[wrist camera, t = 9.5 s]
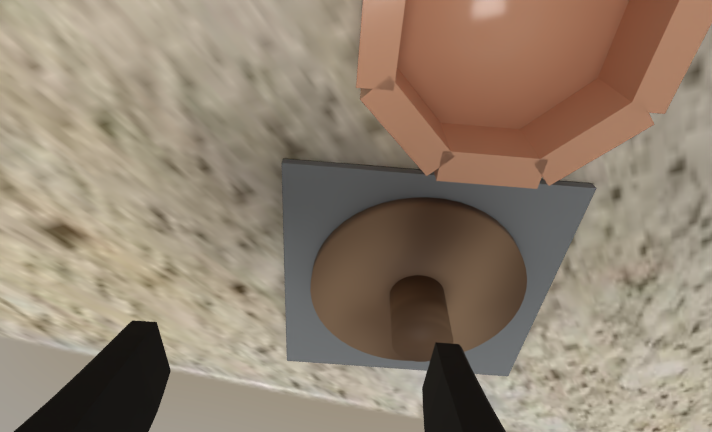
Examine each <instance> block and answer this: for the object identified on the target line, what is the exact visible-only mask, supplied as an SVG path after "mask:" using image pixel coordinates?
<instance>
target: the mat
mask: <svg viewBox="0 0 712 432" xmlns="http://www.w3.org/2000/svg"><path fill="white" fill-rule="evenodd" d="M595 190H596V187H595V186H594V185H593V184H590V183H577V182H565V181H557V182H555V183H553V184H552V185H550V186H549V185H548V184H547V183H546V181H545V180H540V183H539V186H538V188H537V189H532V188H520V187H507V186H495V185H482V184H470V183H458V182H445V181H436V178H435V174H434V172H432V173H431V174H429V175H428V176H426V175H425V174H424V173H423V171H422V170H417V169H404V168H392V167H380V166H367V165H355V164H343V163H330V162H318V161H306V160H293V159H283V161H282V194H283V231H284V269H285V306H286V343H287V361H299V362H313V363H328V364H342V365H356V366H370V367H384V368H398V369H413V370H428V367H429V363H430V361H427V362H416V361H402V360H392V359H386V358H381V357H377V356H373V355H370V354H367V353H364V352H362V351H359V350H357V349H355V348H353V347H351V346H349V345H347V344H346V343H344V342H342V341H341V340H340V339H338V338H337V337H336V336H334V335H333V334H332V333H331V332H330V331H329V330H328V329H327V328H326V327H325V326H324V324H323V323H322V322H321V320H320V319H319V317H318V315H317V313H316V311H315V309H314V306H313V303H312V299H311V292H310V288H311V277H312V271H313V266H314V262H315V259H316V256H317V254H318V251H319V249H320V248H321V246H322V245H323V243H324V241H325V240H326V239H327V238H328V237H329V235H330V234H331V233H332V232H333V231H334V230H335V229H336V228H337V227H338V226H340V225H341V224H342V223H343V222H345V221H346V220H348V219H349V218H351V217H352V216H354V215H355V214H357V213H359V212H361V211H363V210H365V209H367V208H370V207H373V206H376V205H378V204H381V203H385V202H389V201H393V200H398V199H406V198H423V197H430V198H440V199H447V200H452V201H457V202H461V203H463V204H466V205H469V206H472V207H475V208H477V209H479V210H481V211H483V212H485V213H486V214H488V215H489V216H491V217H492V218H494V219H495V220H497V221H498V222H499V223H500V224H501V225H502V226H503V227H504V228H505V229H506V230H507V231H508V232H509V234H510V235H511V236H512V237H513V239H514V241H515V243H516V245H517V246H518V249H519V251H520V253H521V255H522V258H523V261H524V264H525V267H526V273H527V288H526V293H525V296H524V300H523V302H522V304H521V306H520V309H519V310H518V312H517V313H516V315H515V316H514V318H513V319H512V320H511V321H510V322H509V324H508V325H507V326H506V327H505V328H504V329H502V330H501V331H500V332H499V333H498V334H497V335H495V336H494V337H492V338H491V339H489V340H488V341H486V342H484V343H483V344H481V345H479V346H477V347H475V348H473V349H470V350H468V351H466V352H464V353H465V355H466V358H467V360H468V362H469V364H470V366H471V368H472V370H473V372H474V374H483V375H498V376H508V375H509V373H510V371H511V369H512V367H513V364H514V362H515V360H516V358H517V356H518V354H519V352H520V350H521V347H522V345H523V343H524V341H525V339H526V337H527V335H528V333H529V330H530V328H531V326H532V324H533V322H534V320H535V318H536V316H537V313H538V311H539V309H540V307H541V305H542V303H543V301H544V299H545V296H546V294H547V292H548V290H549V288H550V286H551V284H552V282H553V279H554V277H555V275H556V273H557V271H558V269H559V267H560V265H561V262H562V260H563V258H564V256H565V254H566V252H567V250H568V248H569V245H570V243H571V241H572V239H573V237H574V235H575V233H576V231H577V228H578V226H579V224H580V222H581V220H582V218H583V216H584V214H585V211H586V209H587V207H588V205H589V203H590V201H591V199H592V197H593V194H594V192H595Z"/></svg>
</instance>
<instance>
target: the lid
mask: <svg viewBox="0 0 712 432" xmlns="http://www.w3.org/2000/svg"><path fill="white" fill-rule="evenodd" d="M526 288H527V273H526V267H525V264H524V261H523V258H522V255H521V253H520V251H519V249H518V246H517V245H516V243H515V241H514V239H513V237H512V236H511V235H510V234H509V232H508V231H507V230H506V229H505V228H504V227H503V226H502V225H501V224H500V223H499V222H498V221H497V220H495V219H494V218H492V217H491V216H489V215H488V214H486V213H485V212H483V211H481V210H479V209H477V208H475V207H472V206H469V205H466V204H463V203H461V202H457V201H452V200H447V199H440V198H430V197H423V198H406V199H398V200H393V201H389V202H385V203H381V204H378V205H376V206H373V207H370V208H367V209H365V210H363V211H361V212H359V213H357V214H355V215H354V216H352V217H351V218H349V219H348V220H346V221H345V222H343V223H342V224H341V225H340V226H338V227H337V228H336V229H335V230H334V231H333V232H332V233H331V234H330V235H329V237H328V238H327V239H326V240H325V241H324V243H323V245H322V246H321V248H320V249H319V251H318V254H317V256H316V259H315V262H314V266H313V271H312V277H311V288H310V292H311V299H312V303H313V306H314V309H315V311H316V313H317V315H318V317H319V319H320V320H321V322H322V323H323V324H324V326H325V327H326V328H327V329H328V330H329V331H330V332H331V333H332V334H333V335H334V336H336V337H337V338H338V339H340V340H341V341H342V342H344V343H346V344H347V345H349V346H351V347H353V348H355V349H357V350H359V351H362V352H364V353H367V354H370V355H373V356H377V357H381V358H386V359H392V360H402V361H416V362H427V361H430V360H431V356H432V353H433V349H434V346H435V342H437V343H451V344H459V345H460V346H461V347H462V349H463V351H464V352H466V351H468V350H470V349H473V348H475V347H477V346H479V345H481V344H483V343H484V342H486V341H488V340H489V339H491V338H492V337H494V336H495V335H497V334H498V333H499V332H500V331H501V330H502V329H504V328H505V327H506V326H507V325H508V324H509V322H510V321H511V320H512V319H513V318H514V316H515V315H516V313H517V312H518V310H519V309H520V306H521V304H522V302H523V300H524V296H525V293H526Z"/></svg>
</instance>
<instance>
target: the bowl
mask: <svg viewBox="0 0 712 432" xmlns="http://www.w3.org/2000/svg"><path fill="white" fill-rule="evenodd" d="M711 24H712V0H363V7H362V19H361V32H360V45H359V58H358V71H357V84H356V88H361V93H360V100H361V101H362V102H363V103H364V105H365V106H366V107H367V108H368V109H369V110H370V111H371V113H372V114H373V115H374V116H375V117H376V118H377V120H378V121H379V122H380V123H381V124H382V125H383V126H384V128H385V129H386V130H387V131H388V132H389V133H390V135H391V136H392V137H393V138H394V139H395V140H396V141H397V143H398V144H399V145H400V146H401V147H402V148H403V149H404V151H405V152H406V153H407V154H408V155H409V156H410V158H411V159H412V160H413V161H414V162H415V163H416V164H417V166H418V167H419V168H420V169H421V170H422V171H423V173H424V174H425V175H426V176H428V175H429V174H431V173H432V172H434V174H435V178H436V181H445V182H458V183H470V184H482V185H495V186H507V187H520V188H532V189H537V188H538V186H539V183H540V180H541V178H542V177H543V178H544V180H545V181H546V183H547V184H548V185H549V186H550V185H552V184H553V183H555V182H557V181H558V180H560V179H562V178H564V177H565V176H567V175H569V174H570V173H572V172H574V171H576V170H577V169H579V168H581V167H582V166H584V165H586V164H587V163H589V162H591V161H593V160H594V159H596V158H598V157H599V156H601V155H603V154H605V153H606V152H608V151H610V150H611V149H613V148H615V147H617V146H618V145H620V144H622V143H623V142H625V141H627V140H629V139H630V138H632V137H634V136H635V135H637V134H639V133H640V132H642V131H644V130H646V129H647V128H649V127H651V126H652V125H654V122H653V120H652V118H651V116H650V114H649V113H661V114H665V112H666V110H667V109H668V107H669V105H670V103H671V101H672V99H673V97H674V95H675V93H676V91H677V89H678V87H679V85H680V83H681V81H682V80H683V78H684V76H685V74H686V72H687V70H688V68H689V66H690V64H691V62H692V60H693V58H694V56H695V54H696V53H697V51H698V49H699V47H700V45H701V43H702V41H703V39H704V37H705V35H706V33H707V31H708V29H709V27H710V25H711Z"/></svg>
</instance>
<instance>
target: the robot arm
mask: <svg viewBox="0 0 712 432" xmlns="http://www.w3.org/2000/svg"><path fill="white" fill-rule="evenodd" d="M169 374H170V367H169V364H168V360H167V357H166V353H165V350H164V346H163V343H162V339H161V336H160V332H159V329H158V325H157V322H146V321H132V322H130V323H129V324H128V325H127V326H126V327H125V328H124V329H123V330H122V331H121V332H120V333H119V334H118V335H117V336H116V337H115V338H114V339H113V340H112V341H111V342H110V343H109V344H108V345H107V346H106V347H105V348H104V349H103V350H102V351H101V352H100V353H99V354H98V355H97V356H96V357H95V358H94V359H93V360H92V361H91V362H90V363H88V365H86V366H85V367H84V369H82V370H81V371H80V372H79V373H78V374H77V375H76V376H75V377H74V378H73V379H72V380H71V381H70V382H69V383H67V385H65V386H64V387H63V388H62V389H61V390H60V391H59V392H58V393H57V394H56V395H55V396H54V397H52V399H50V400H49V401H48V402H47V403H46V404H45V405H44V406H42V407H41V408H40V409H39V410H38V411H37V412H36V413H35V414H33V415H32V416H31V417H30V418H29V419H28V420H27V421H25V422H24V423H23V424H22V425H21V426H20V427H18V428H17V429H16V430H15V431H14V432H148V431H149V429H150V427H151V425H152V423H153V420H154V418H155V416H156V413H157V411H158V408H159V405H160V402H161V399H162V396H163V393H164V390H165V387H166V384H167V380H168V377H169ZM422 392H423V413H424V429H425V432H506V431H505V430H504V428H503V426H502V424H501V423H500V421H499V419H498V417H497V416H496V414H495V412H494V410H493V409H492V407H491V405H490V403H489V401H488V399H487V398H486V396H485V394H484V392H483V390H482V388H481V386H480V384H479V382H478V380H477V378H476V376H475V374H474V372H473V370H472V368H471V366H470V364H469V362H468V360H467V358H466V355H465V353H464V351H463V349H462V347H461V346H460V345H459V344H451V343H437V342H435V346H434V349H433V353H432V356H431V360H430V363H429V367H428V370H427V374H426V377H425V381H424V384H423V388H422Z"/></svg>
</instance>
